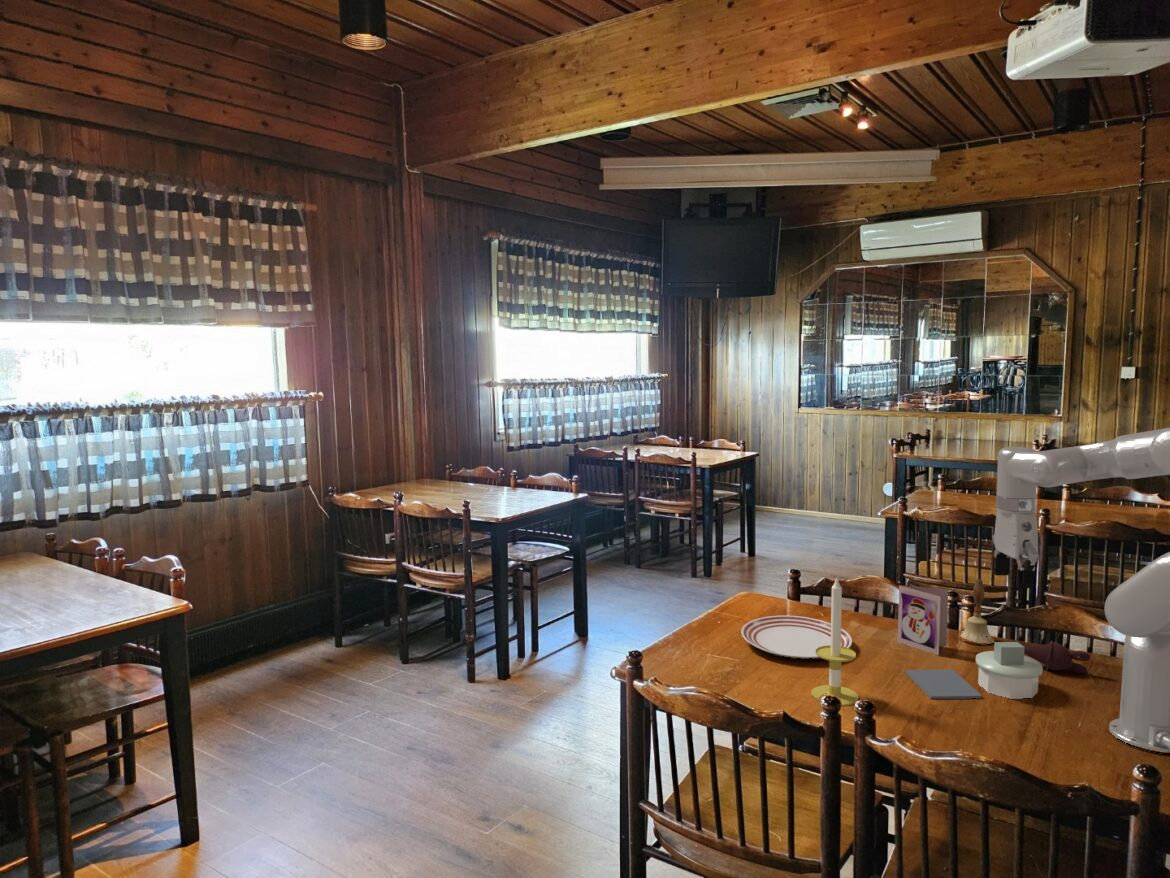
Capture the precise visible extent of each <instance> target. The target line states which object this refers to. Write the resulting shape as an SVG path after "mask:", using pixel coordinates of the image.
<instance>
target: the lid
mask: <svg viewBox="0 0 1170 878" xmlns="http://www.w3.org/2000/svg"><path fill="white" fill-rule="evenodd" d="M993 645H994V648H993V649H994V650H987V651H983V652H979V653H977V654H976V656H975V664H976V665H977V667H978V668H979V667H980V668H981V669H983V670H985V671H987V672H990V673H992V674H995V675H999V676H1003V677H1009V678H1018V679H1029V678H1035V677H1038V678H1039V677H1040V676H1041V675H1042V674H1043V672H1044V671H1043V668H1044V667H1043V664H1042V663H1040V662H1039V661H1037V660H1035V659H1033V658H1031V657H1030V656H1028V655H1025V654H1024V648H1025V647H1024V646H1025V645H1023V644H1021V643H1019V642H1018V641H1000V642H999V641H997V642H996V641H994V644H993Z"/></svg>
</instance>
